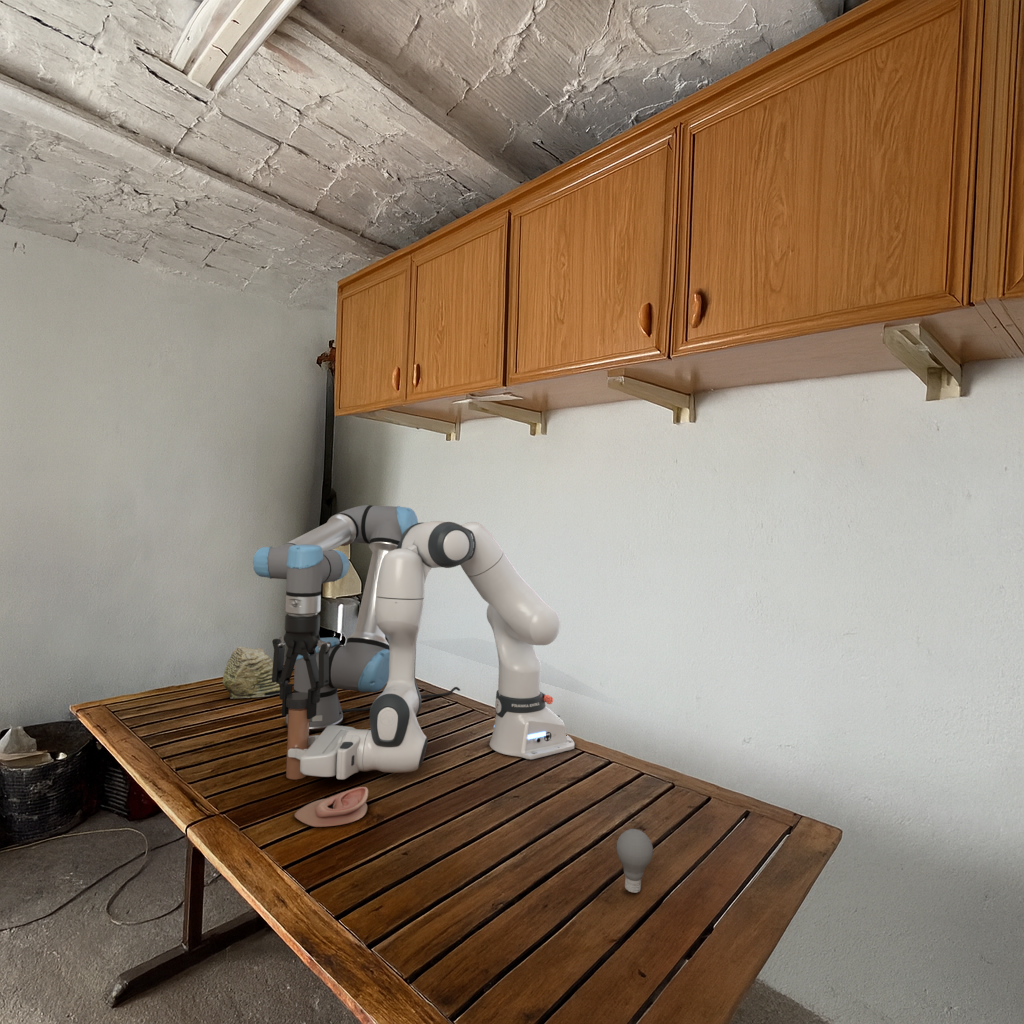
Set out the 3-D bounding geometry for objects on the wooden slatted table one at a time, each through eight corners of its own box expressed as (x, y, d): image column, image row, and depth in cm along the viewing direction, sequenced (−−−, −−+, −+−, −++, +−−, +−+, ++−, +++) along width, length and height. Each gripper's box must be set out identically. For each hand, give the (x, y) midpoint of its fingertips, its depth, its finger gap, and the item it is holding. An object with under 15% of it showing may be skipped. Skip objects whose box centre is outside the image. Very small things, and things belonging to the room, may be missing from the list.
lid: (298, 699, 147) (298, 690, 147) (318, 703, 145) (318, 694, 145) (280, 706, 142) (280, 697, 142) (300, 710, 139) (300, 701, 139)
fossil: (218, 695, 195) (220, 647, 195) (278, 685, 208) (279, 640, 207) (228, 703, 189) (230, 653, 188) (289, 692, 201) (290, 645, 201)
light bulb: (610, 879, 108) (613, 822, 108) (644, 879, 109) (647, 822, 109) (619, 902, 102) (622, 840, 102) (655, 901, 103) (658, 840, 103)
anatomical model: (286, 802, 122) (316, 777, 134) (285, 822, 122) (315, 795, 134) (350, 811, 120) (375, 785, 131) (349, 832, 120) (374, 804, 131)
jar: (283, 773, 144) (286, 698, 144) (303, 769, 147) (306, 695, 146) (289, 781, 140) (292, 704, 140) (310, 776, 143) (313, 700, 143)
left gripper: (256, 612, 141) (252, 715, 142) (332, 619, 137) (327, 726, 138) (276, 607, 149) (272, 705, 149) (348, 614, 144) (344, 715, 145)
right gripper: (366, 720, 154) (309, 717, 154) (342, 753, 133) (277, 750, 133) (365, 745, 154) (308, 742, 154) (341, 783, 133) (276, 780, 133)
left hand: (299, 715), depth 143 cm, fingers closed on lid, 6 cm apart
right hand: (293, 746), depth 143 cm, fingers closed on jar, 4 cm apart
